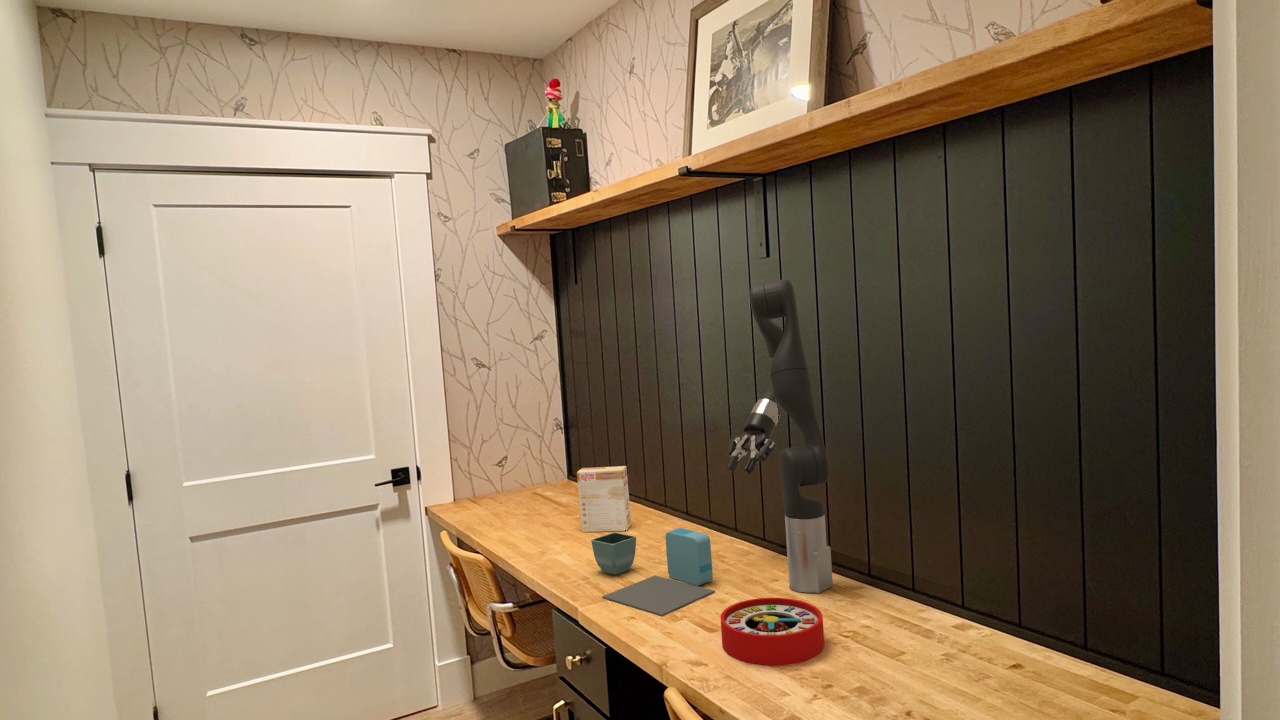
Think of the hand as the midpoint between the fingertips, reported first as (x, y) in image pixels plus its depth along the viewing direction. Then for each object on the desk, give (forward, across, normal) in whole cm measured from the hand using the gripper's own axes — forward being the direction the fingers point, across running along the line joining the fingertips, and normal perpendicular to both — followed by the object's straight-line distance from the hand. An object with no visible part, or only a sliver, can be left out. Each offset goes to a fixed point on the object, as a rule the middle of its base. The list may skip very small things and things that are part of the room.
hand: (738, 471), depth 206 cm
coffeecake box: (+15, -58, +20) cm, 63 cm away
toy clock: (+44, +36, -9) cm, 57 cm away
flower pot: (+34, -24, 0) cm, 42 cm away
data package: (+30, -3, +4) cm, 31 cm away
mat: (+39, -2, -5) cm, 39 cm away
